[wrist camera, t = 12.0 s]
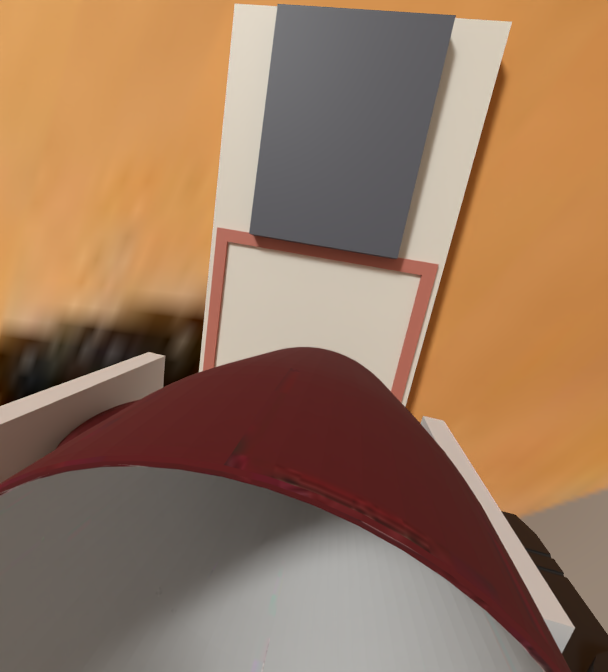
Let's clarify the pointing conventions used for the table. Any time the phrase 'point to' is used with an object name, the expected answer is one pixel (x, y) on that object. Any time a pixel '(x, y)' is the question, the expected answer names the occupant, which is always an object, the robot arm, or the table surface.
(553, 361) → the table surface
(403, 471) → the mug
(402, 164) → the board
